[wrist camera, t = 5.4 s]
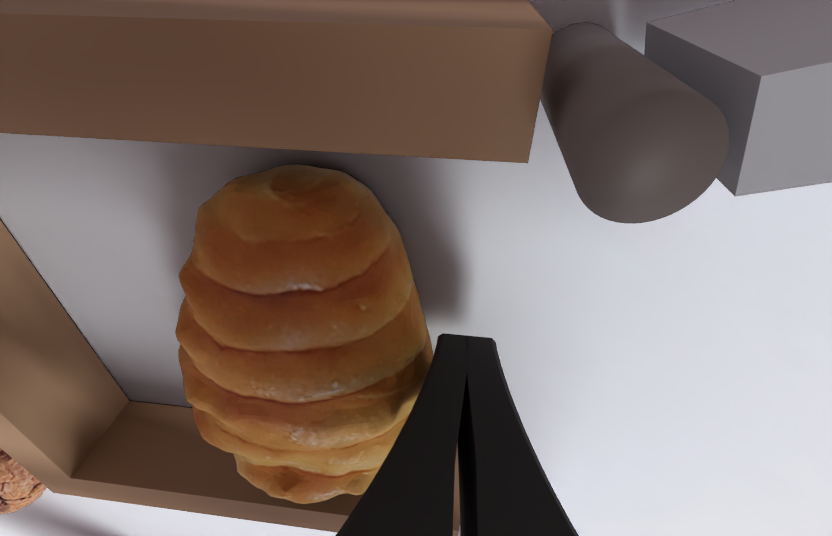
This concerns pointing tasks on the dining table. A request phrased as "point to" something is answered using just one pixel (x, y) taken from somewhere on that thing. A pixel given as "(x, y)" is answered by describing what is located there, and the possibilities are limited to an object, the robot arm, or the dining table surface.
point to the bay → (301, 130)
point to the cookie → (16, 485)
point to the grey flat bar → (759, 85)
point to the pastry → (301, 331)
